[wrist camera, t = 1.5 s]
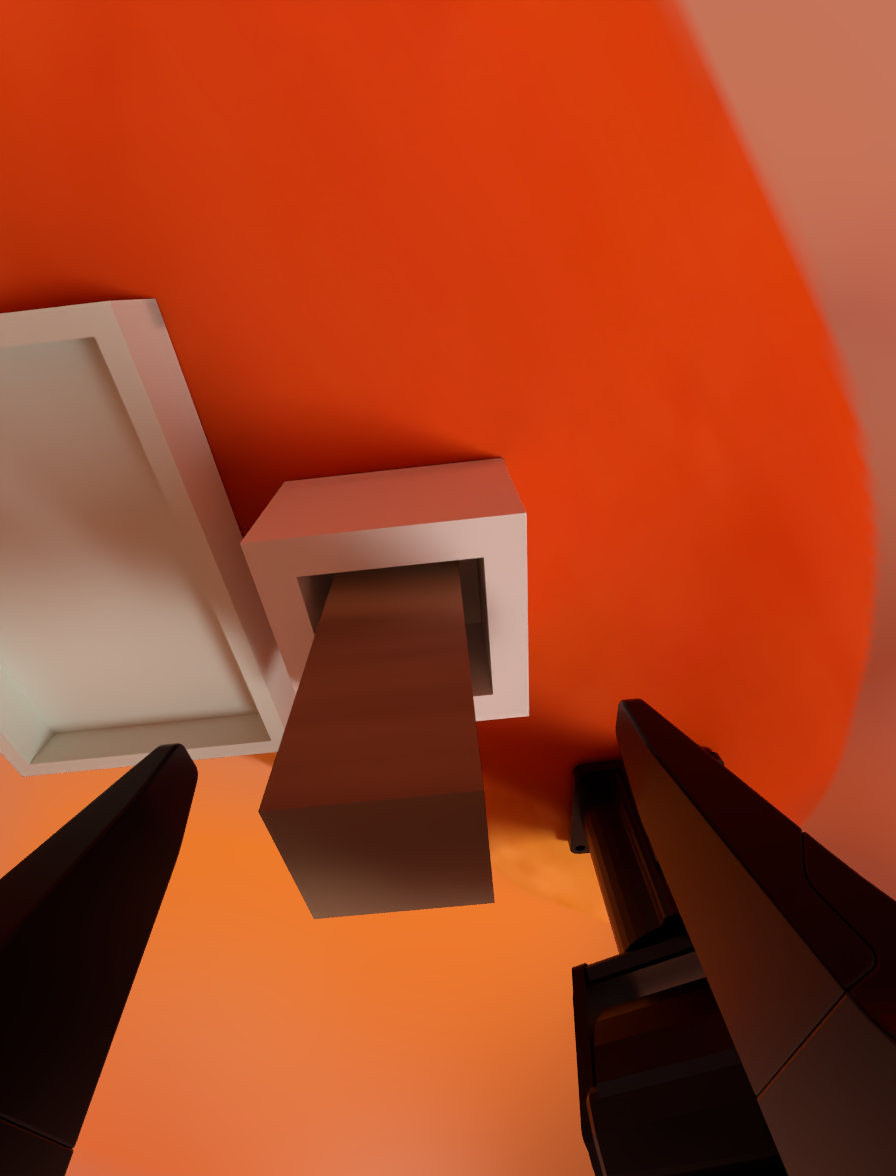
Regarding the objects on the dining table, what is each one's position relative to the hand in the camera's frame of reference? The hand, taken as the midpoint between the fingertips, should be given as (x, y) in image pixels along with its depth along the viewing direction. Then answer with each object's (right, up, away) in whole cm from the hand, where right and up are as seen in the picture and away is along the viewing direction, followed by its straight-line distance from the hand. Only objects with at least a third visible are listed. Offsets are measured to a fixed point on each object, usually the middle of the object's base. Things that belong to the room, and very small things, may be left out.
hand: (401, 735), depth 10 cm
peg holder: (0, +4, +6) cm, 7 cm away
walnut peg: (0, +3, +5) cm, 6 cm away
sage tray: (-10, +4, +6) cm, 12 cm away
